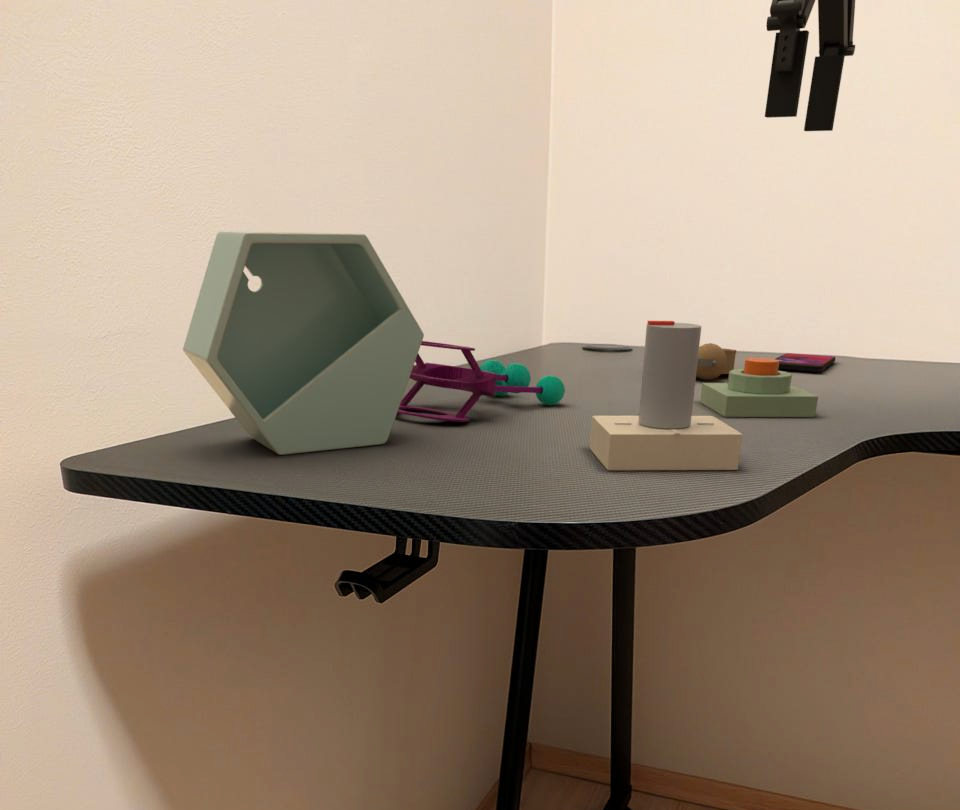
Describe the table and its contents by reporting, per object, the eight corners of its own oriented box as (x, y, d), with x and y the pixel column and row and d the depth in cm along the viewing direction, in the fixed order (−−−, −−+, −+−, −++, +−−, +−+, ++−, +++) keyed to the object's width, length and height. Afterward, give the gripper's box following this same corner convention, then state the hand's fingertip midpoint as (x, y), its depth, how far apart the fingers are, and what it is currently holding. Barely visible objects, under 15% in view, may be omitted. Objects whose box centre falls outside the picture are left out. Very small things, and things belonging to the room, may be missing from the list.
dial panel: (707, 448, 83) (712, 413, 82) (739, 471, 75) (744, 432, 74) (589, 448, 82) (591, 413, 81) (608, 471, 74) (611, 432, 73)
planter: (315, 502, 81) (159, 299, 68) (286, 482, 87) (137, 292, 75) (454, 385, 84) (328, 169, 71) (416, 373, 90) (294, 173, 77)
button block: (783, 402, 106) (789, 367, 104) (815, 417, 98) (821, 379, 96) (700, 402, 105) (704, 366, 104) (724, 417, 97) (729, 378, 96)
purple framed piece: (570, 421, 102) (578, 356, 100) (440, 421, 89) (446, 346, 86) (492, 406, 110) (498, 345, 108) (362, 404, 96) (365, 335, 94)
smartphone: (837, 356, 140) (822, 366, 128) (835, 362, 140) (821, 373, 128) (785, 353, 143) (766, 362, 131) (784, 358, 143) (765, 368, 131)
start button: (769, 374, 102) (772, 357, 101) (781, 378, 99) (784, 362, 98) (738, 373, 102) (740, 357, 101) (749, 378, 98) (751, 362, 98)
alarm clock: (741, 349, 129) (728, 339, 115) (736, 385, 130) (723, 380, 116) (663, 344, 132) (641, 335, 119) (658, 379, 134) (637, 374, 120)
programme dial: (682, 418, 80) (693, 318, 76) (697, 428, 76) (708, 323, 72) (633, 418, 79) (641, 318, 76) (645, 429, 75) (654, 323, 72)
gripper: (832, -106, 91) (796, 136, 99) (756, -199, 71) (719, 111, 80) (912, -118, 87) (867, 134, 96) (855, -220, 68) (805, 108, 77)
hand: (800, 124), depth 88 cm, fingers open, 13 cm apart
